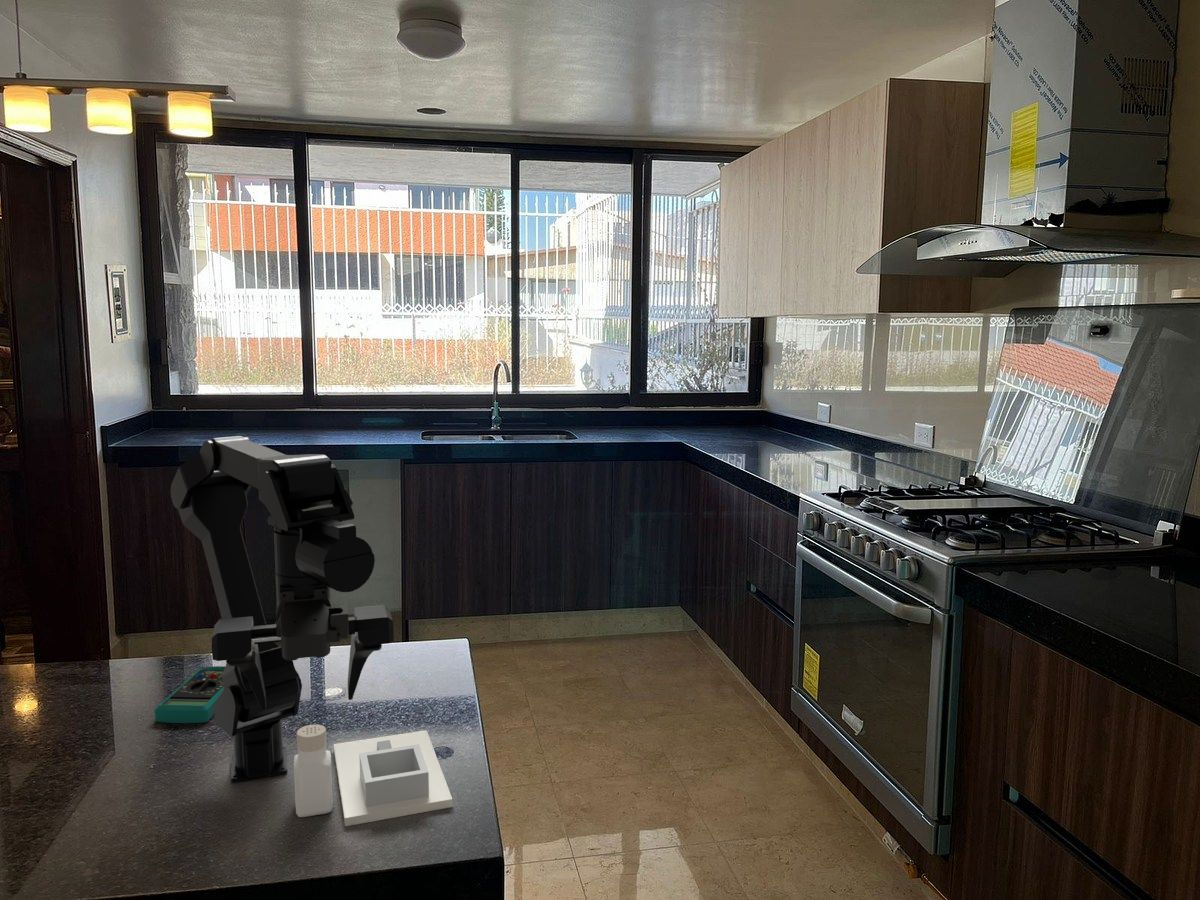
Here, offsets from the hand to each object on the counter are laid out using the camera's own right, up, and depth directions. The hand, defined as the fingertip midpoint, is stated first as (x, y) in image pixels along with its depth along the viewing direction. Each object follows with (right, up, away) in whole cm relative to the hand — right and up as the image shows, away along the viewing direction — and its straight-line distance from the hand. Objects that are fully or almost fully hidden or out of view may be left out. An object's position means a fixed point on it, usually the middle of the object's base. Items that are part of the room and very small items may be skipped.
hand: (307, 703), depth 100 cm
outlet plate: (+7, -12, +9) cm, 17 cm away
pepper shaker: (0, -13, +2) cm, 13 cm away
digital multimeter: (-25, -9, +30) cm, 40 cm away
